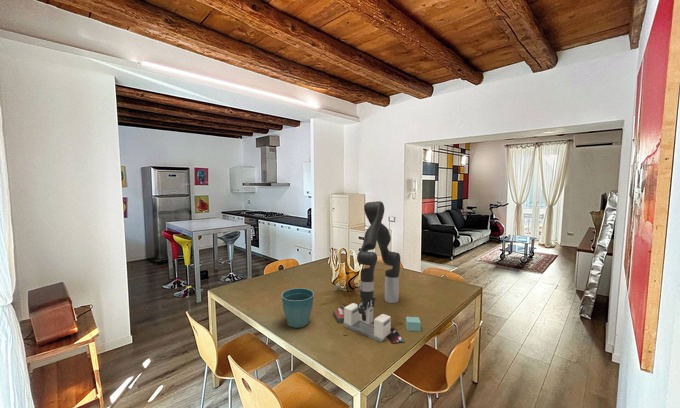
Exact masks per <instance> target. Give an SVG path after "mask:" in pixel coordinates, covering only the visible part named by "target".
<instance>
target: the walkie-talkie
mask: <svg viewBox="0 0 680 408" xmlns="http://www.w3.org/2000/svg"><path fill="white" fill-rule="evenodd" d="M340 306H341V307H340V308H337V309H334V310H333V316H334V318H335V320H336V322H337V324H343V323H344V307H345V306H344V305H343V304H341V305H340Z"/></svg>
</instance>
